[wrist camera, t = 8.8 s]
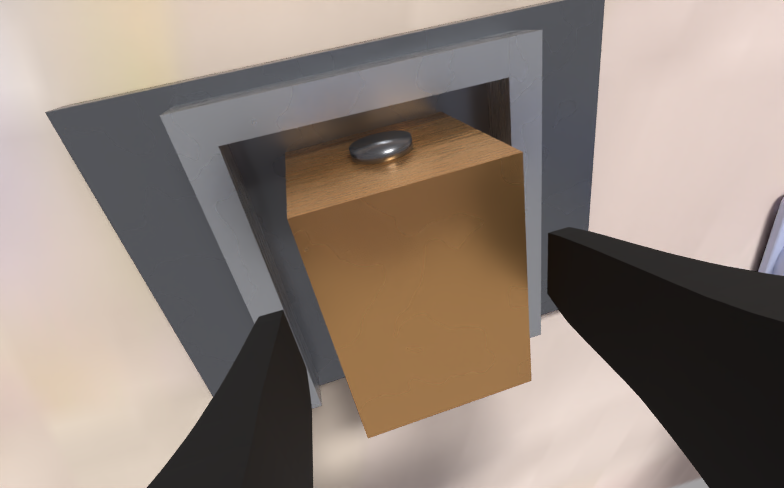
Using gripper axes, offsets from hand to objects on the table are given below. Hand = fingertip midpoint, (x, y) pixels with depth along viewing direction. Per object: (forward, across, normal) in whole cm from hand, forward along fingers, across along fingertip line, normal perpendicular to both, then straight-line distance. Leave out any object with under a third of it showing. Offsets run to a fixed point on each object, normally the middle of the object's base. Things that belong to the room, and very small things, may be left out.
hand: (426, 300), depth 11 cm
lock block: (+4, 0, 0) cm, 4 cm away
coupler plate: (+5, 0, 0) cm, 5 cm away
